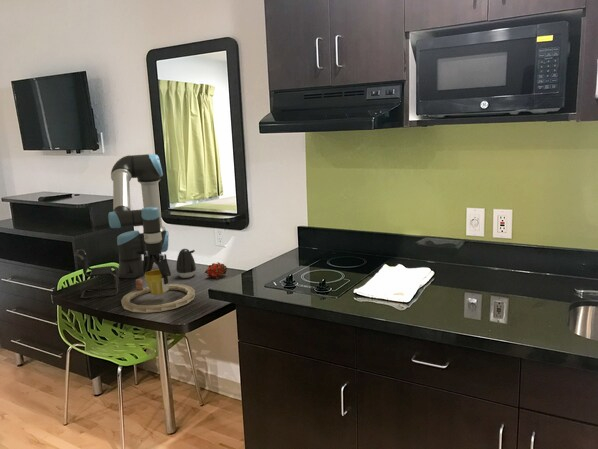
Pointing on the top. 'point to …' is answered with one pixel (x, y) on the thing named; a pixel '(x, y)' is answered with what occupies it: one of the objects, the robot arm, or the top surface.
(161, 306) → the beige segmented ring
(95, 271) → the chair
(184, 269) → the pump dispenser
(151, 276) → the plant pot
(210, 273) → the dragon fruit
